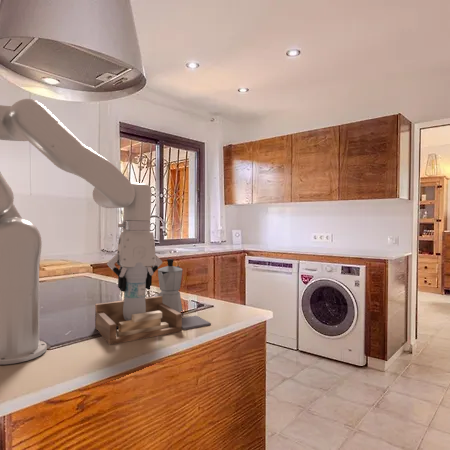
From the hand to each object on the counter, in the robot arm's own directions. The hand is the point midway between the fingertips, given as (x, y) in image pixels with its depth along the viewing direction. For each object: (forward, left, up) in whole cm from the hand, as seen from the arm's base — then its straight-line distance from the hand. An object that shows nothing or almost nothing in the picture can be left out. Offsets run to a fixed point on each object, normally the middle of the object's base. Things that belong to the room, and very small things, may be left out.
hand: (135, 289), depth 101 cm
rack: (+1, -1, -11) cm, 12 cm away
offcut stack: (+1, -5, -11) cm, 13 cm away
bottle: (0, 0, -9) cm, 9 cm away
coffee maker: (+17, +12, -12) cm, 23 cm away
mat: (+16, -3, -11) cm, 20 cm away
